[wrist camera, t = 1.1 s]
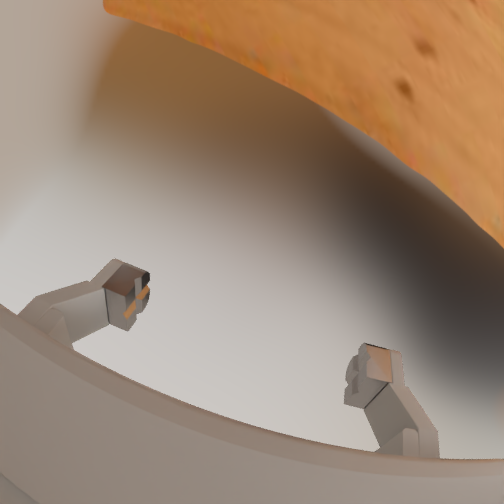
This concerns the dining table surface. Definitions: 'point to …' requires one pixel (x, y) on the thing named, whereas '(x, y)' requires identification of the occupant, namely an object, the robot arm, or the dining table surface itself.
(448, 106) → the dining table surface
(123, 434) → the robot arm
